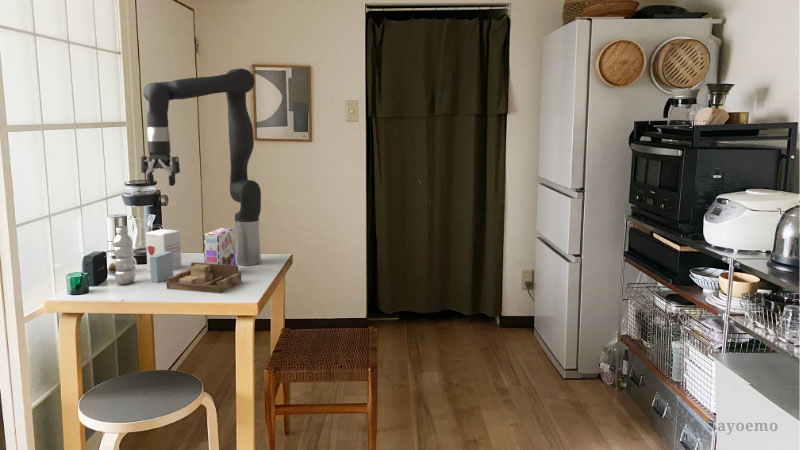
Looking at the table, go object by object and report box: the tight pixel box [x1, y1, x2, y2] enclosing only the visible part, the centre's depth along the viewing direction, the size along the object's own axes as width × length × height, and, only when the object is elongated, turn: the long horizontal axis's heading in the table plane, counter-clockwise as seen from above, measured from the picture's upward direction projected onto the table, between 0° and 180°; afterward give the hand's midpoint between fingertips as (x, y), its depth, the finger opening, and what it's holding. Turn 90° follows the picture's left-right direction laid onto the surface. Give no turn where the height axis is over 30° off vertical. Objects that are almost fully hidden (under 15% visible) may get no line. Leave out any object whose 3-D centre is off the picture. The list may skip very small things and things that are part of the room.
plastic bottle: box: [112, 225, 136, 285], centre depth 224 cm, size 6×7×20 cm
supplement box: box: [145, 228, 182, 272], centre depth 244 cm, size 9×9×15 cm
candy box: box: [203, 227, 237, 265], centre depth 238 cm, size 14×6×16 cm, turn 168°
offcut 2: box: [189, 264, 210, 276], centre depth 222 cm, size 4×5×3 cm
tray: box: [165, 261, 242, 294], centre depth 219 cm, size 14×20×7 cm
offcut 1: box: [179, 276, 199, 284], centre depth 217 cm, size 4×5×3 cm
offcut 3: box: [189, 273, 213, 285], centre depth 222 cm, size 5×6×3 cm
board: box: [150, 252, 174, 284], centre depth 227 cm, size 9×2×10 cm, turn 165°
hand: (161, 185), depth 233 cm, fingers open, 8 cm apart
